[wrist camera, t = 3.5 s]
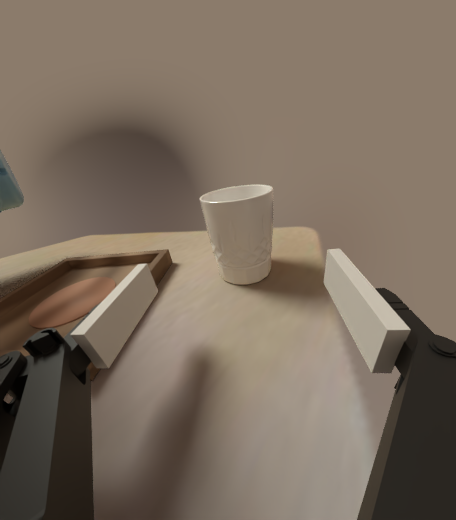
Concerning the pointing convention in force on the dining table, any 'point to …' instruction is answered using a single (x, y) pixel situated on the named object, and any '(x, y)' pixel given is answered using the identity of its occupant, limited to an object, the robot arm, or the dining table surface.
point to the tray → (69, 295)
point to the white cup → (240, 231)
